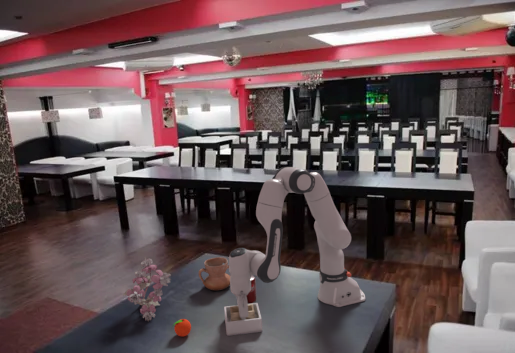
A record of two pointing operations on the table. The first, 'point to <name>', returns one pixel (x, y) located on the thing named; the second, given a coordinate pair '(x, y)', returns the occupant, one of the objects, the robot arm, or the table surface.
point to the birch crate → (236, 316)
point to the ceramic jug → (216, 273)
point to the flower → (138, 290)
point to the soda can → (252, 291)
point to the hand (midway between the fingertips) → (242, 315)
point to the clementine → (182, 327)
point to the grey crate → (243, 323)
